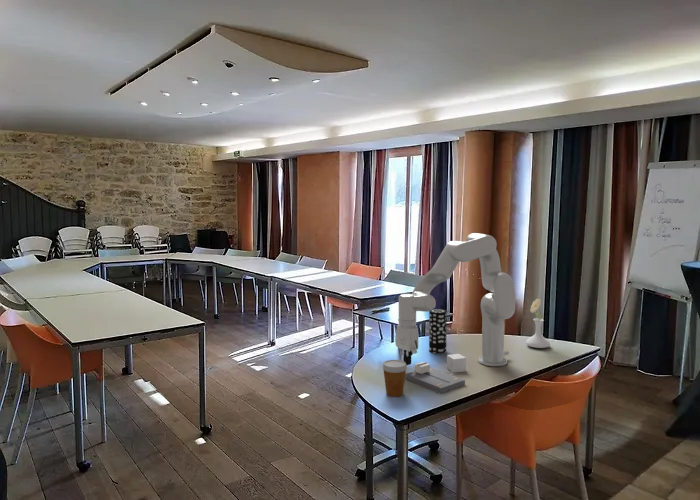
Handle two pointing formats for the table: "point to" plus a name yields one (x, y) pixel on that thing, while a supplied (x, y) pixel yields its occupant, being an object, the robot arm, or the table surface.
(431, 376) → the console
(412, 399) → the table surface
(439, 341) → the spotted tube
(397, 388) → the disposable coffee cup
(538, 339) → the flower in vase
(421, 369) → the fader
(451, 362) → the white cube
